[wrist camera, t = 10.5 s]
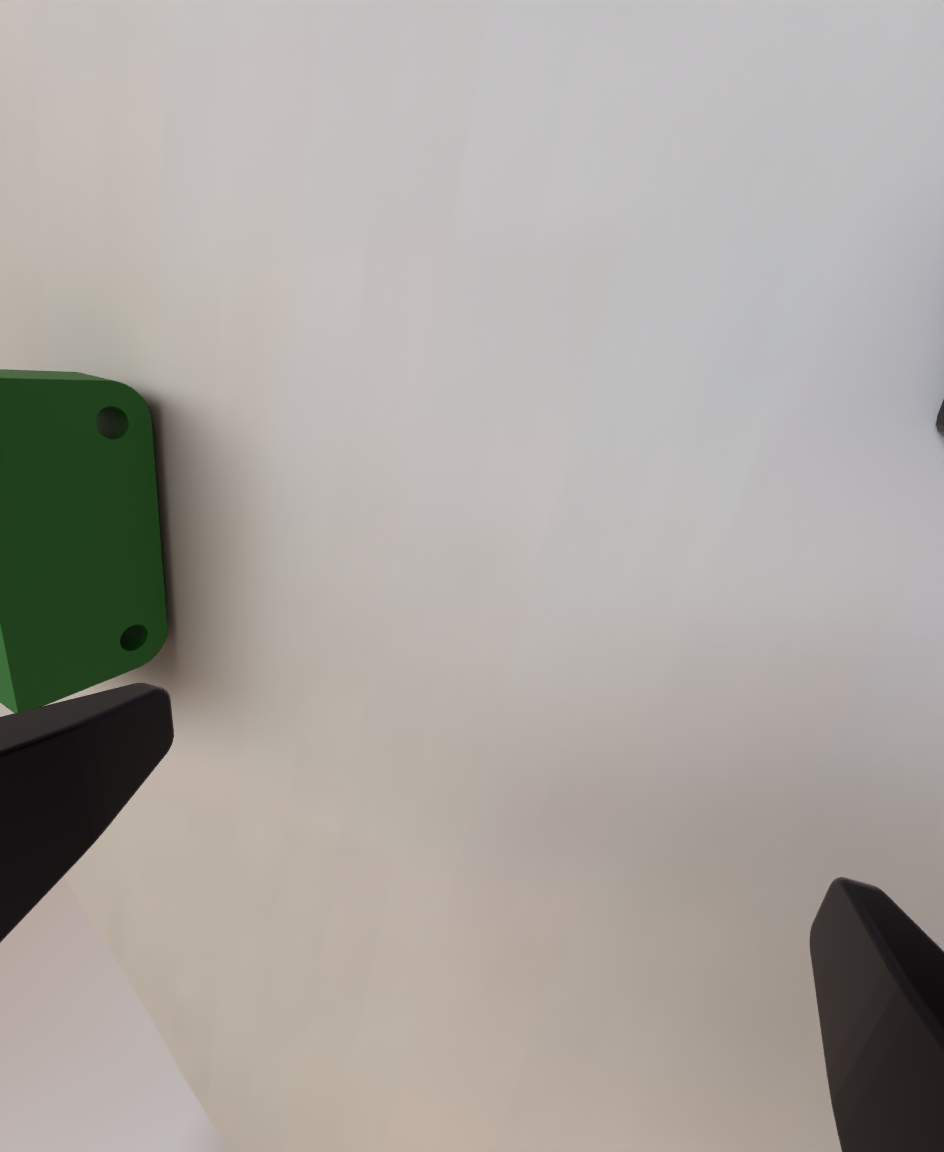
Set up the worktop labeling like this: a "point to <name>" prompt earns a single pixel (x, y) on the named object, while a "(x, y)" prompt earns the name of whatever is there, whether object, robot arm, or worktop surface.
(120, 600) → the clamp
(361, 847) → the worktop surface
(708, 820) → the worktop surface
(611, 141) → the worktop surface
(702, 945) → the worktop surface
